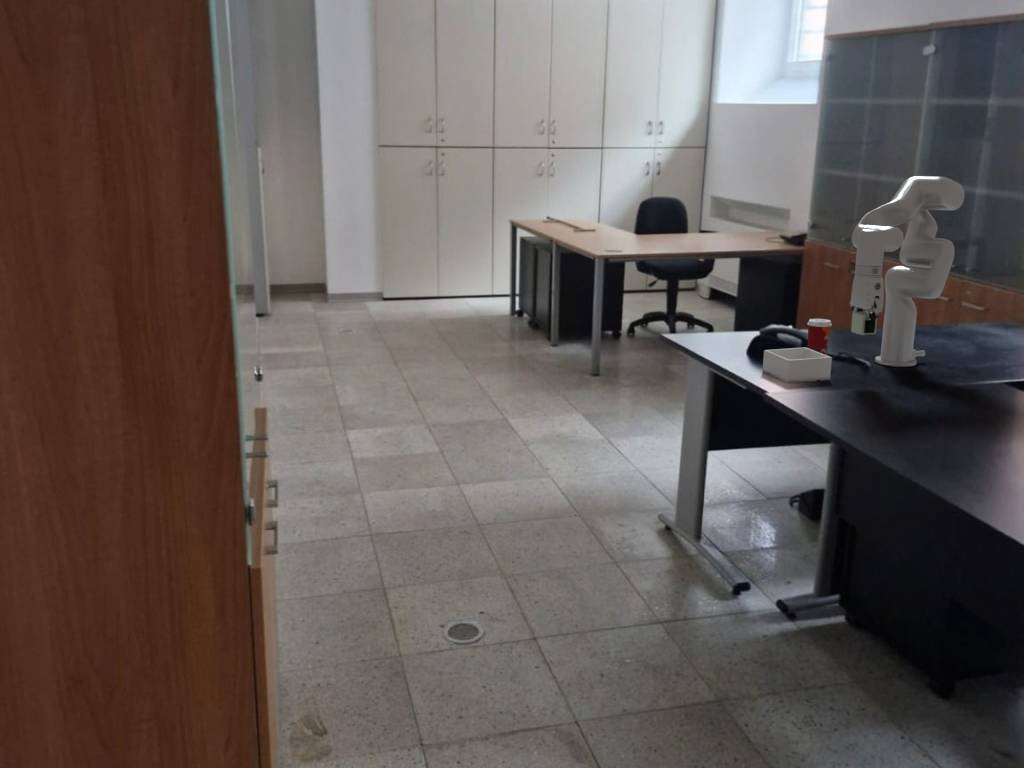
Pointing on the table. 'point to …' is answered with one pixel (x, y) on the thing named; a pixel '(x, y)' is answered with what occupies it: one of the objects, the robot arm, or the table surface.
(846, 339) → the table surface
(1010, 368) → the table surface
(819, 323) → the paper cup
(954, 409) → the table surface
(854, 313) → the green block
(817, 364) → the bin
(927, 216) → the robot arm
